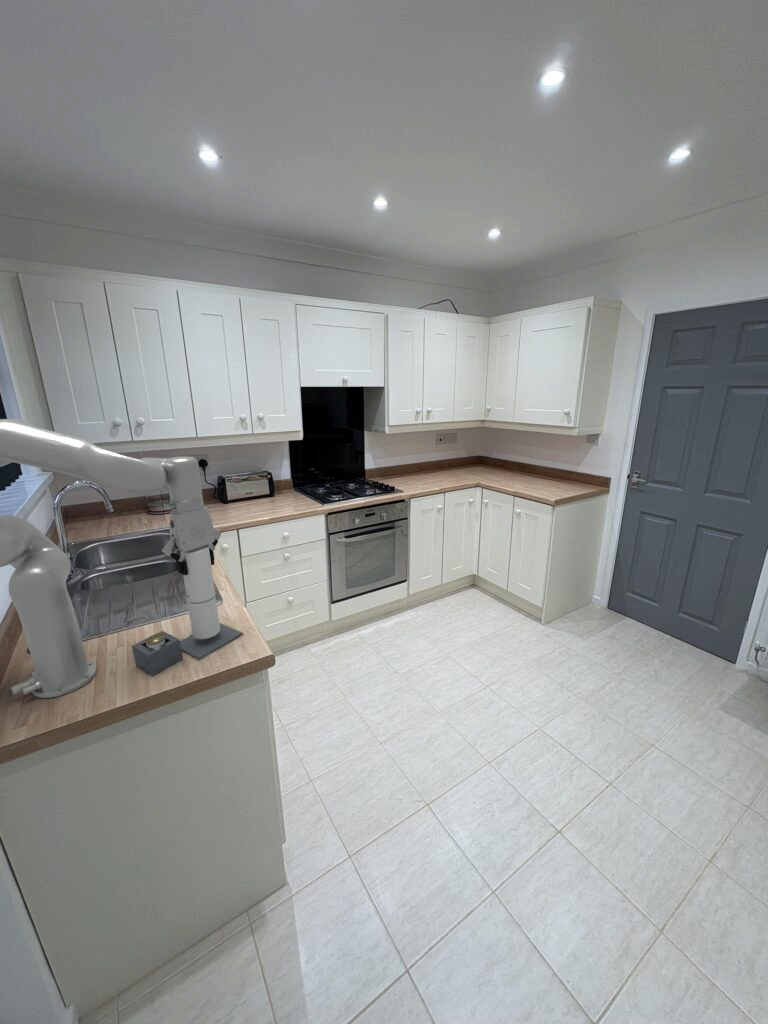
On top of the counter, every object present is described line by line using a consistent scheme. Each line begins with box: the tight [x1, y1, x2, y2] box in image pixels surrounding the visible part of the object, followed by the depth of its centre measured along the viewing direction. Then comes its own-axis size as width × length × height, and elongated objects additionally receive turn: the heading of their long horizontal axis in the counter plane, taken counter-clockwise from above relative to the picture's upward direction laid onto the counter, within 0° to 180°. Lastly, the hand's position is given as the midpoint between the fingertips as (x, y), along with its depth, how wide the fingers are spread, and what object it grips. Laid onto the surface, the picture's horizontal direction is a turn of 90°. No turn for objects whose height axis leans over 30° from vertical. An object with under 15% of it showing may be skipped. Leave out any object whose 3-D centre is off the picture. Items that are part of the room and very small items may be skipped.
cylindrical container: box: [182, 545, 220, 639], centre depth 110 cm, size 7×7×25 cm
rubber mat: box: [180, 622, 244, 661], centre depth 114 cm, size 14×12×1 cm
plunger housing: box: [131, 630, 184, 677], centre depth 104 cm, size 8×8×6 cm
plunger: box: [145, 633, 166, 650], centre depth 104 cm, size 4×4×6 cm
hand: (197, 568), depth 108 cm, fingers closed on cylindrical container, 7 cm apart
